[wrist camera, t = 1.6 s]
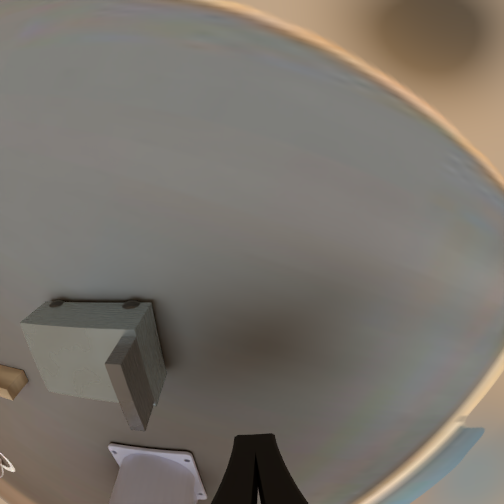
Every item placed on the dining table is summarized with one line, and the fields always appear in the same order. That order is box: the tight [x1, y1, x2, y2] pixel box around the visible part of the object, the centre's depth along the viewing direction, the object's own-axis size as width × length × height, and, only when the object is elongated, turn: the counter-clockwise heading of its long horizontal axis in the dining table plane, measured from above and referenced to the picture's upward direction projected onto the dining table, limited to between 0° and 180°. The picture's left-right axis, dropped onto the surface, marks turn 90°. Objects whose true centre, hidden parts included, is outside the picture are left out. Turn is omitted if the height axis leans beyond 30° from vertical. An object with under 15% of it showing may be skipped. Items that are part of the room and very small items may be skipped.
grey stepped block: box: [20, 300, 167, 431], centre depth 15 cm, size 8×6×6 cm
